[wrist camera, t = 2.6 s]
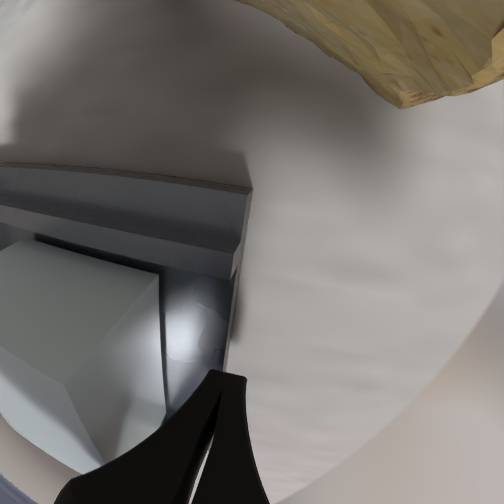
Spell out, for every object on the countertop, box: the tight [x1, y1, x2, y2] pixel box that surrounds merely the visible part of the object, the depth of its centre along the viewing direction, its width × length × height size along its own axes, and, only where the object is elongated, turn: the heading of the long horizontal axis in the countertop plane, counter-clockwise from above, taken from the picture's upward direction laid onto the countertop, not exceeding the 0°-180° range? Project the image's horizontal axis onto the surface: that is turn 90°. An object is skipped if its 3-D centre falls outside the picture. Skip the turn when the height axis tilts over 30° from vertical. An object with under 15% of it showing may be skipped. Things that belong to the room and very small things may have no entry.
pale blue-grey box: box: [0, 238, 166, 474], centre depth 9 cm, size 10×9×5 cm
